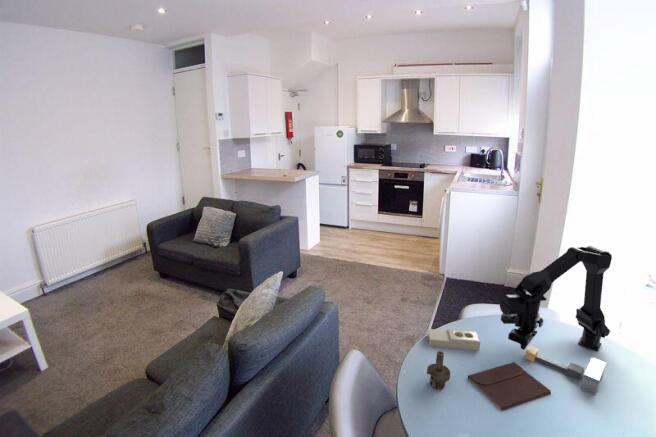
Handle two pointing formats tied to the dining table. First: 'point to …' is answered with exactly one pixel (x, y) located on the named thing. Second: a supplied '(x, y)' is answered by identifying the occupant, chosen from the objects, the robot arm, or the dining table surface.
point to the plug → (555, 364)
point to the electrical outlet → (454, 339)
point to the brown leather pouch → (509, 385)
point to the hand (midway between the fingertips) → (522, 348)
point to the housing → (593, 375)
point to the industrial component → (438, 372)
